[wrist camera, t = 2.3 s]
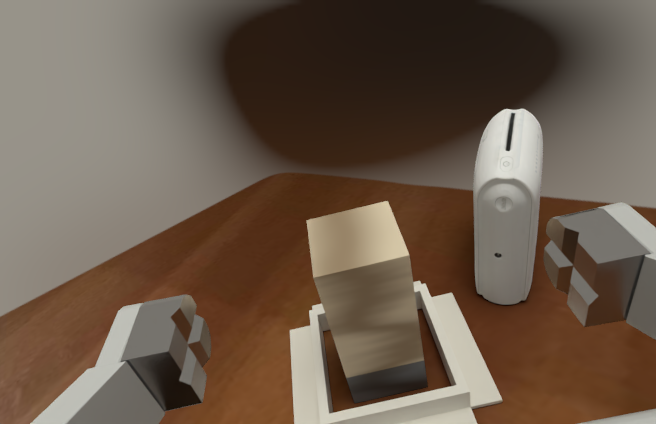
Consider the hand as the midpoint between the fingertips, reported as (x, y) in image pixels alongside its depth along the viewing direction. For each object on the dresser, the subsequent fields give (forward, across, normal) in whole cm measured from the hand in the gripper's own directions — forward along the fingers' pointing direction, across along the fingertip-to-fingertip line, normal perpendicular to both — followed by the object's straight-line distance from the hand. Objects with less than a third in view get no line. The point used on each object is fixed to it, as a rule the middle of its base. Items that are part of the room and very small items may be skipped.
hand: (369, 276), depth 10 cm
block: (+12, 0, +20) cm, 23 cm away
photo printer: (+19, -12, +20) cm, 30 cm away
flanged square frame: (+12, 0, +20) cm, 23 cm away
